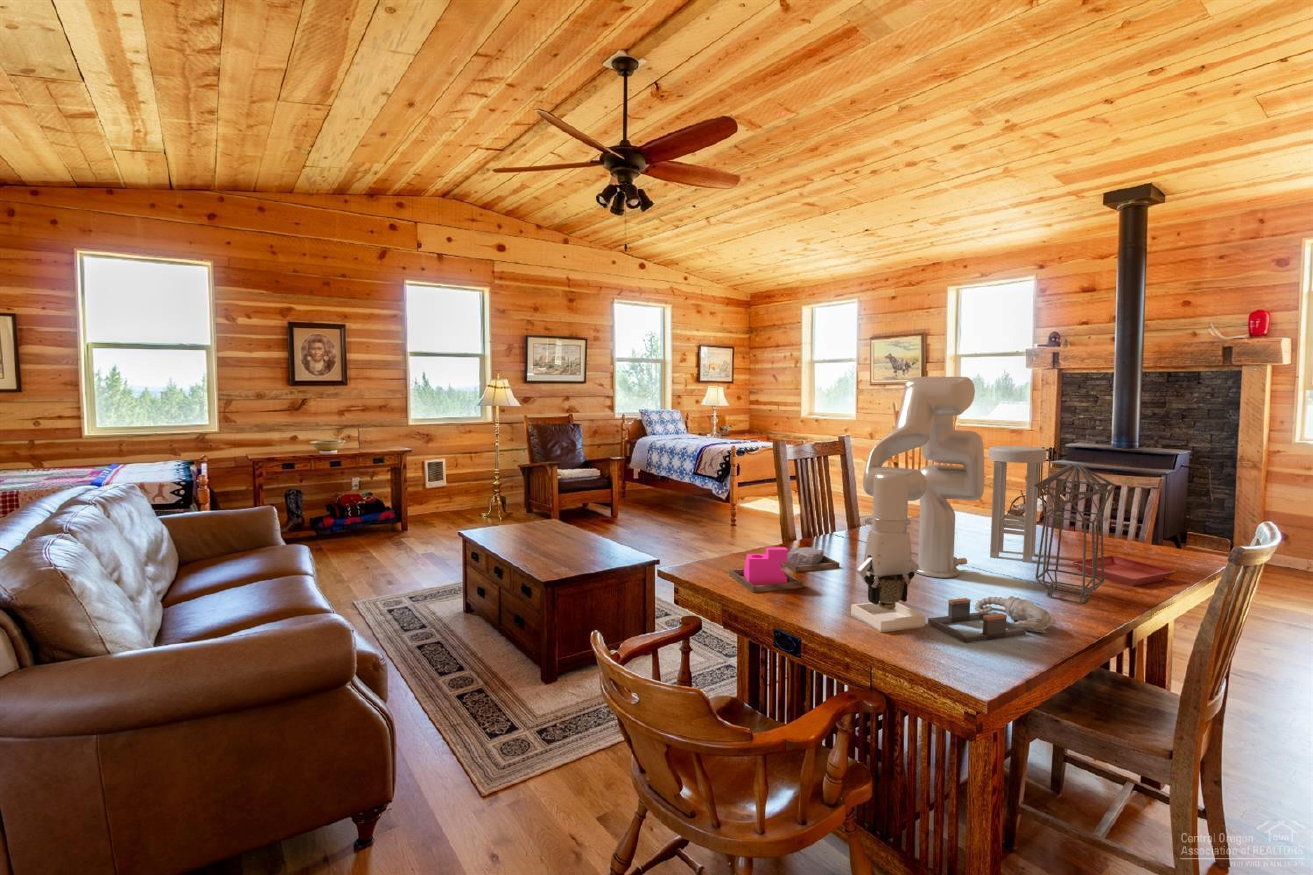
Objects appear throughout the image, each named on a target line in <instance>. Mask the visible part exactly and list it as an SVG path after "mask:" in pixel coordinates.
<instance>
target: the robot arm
mask: <svg viewBox="0 0 1313 875" xmlns="http://www.w3.org/2000/svg"><path fill="white" fill-rule="evenodd" d="M903 389H904V391H903V395H902V399H901V403H900V407H899V411H898V414H897V417H896V418H897V419H896V422H895V426H894V429H893V431H891V432H890V433H888V434H887V435H886V436H884V437H883V438H882V439H880V440H879V441H878V442H877V443H876V444H875V445H874V446H873V448H872V449H871V450H870V453H869V455H868V456H867V460H866V464H865V468H864V471H863V472H864V473H863V477H862V488H863V490H864V492H865V494H866V495H868V496H870V497H872V498H873V500H872V530H869V531H868V534H867V538H866V543H865V547H864V548H865V549H864V557H863V559H864V560H863V563H862V564H861V565H860V566H859V567H858V568H857V569H856V573H857V574H858V575H859V576H860V578H861V579H862V580H863V582H864V583H865V584H866V585H867V600H868V602H869V603H873V604H875V605H878V604H879V602H880V601H879V588H878V587H877V585H878V583H879V579H880V578H881V576H891V575H902V577H903V578H905V582H904V589H903V594H902V597H901V599H900V600H899V601H902V602H904V603H905V602H908V589H909V588H908V586H909V585H910V584H911V581H912V579H913V578H914V577H915V575H916V573H917V574H919V575H922V576H927V577H931V578H941V579H942V578H944V579H945V578H946V579H947V578H955V577H958V576H959V575H960V569H958V568H957V567H958V566H960V565H961V566H963V565H967V564H968V559H967V558H966V557H960V558H957V556H955V536H956V534H955V533H956V529H955V528H956V513H955V510H954V508H953V507H952V505H951V504H950V503H949V501H948V500H958V501H959V500H960V501H968V502H969V501H971V502H972V501H974V502H975V501H978V500H980V499H981V498H982V497H983V495H984V491H985V455H984V454H985V451H984V450H985V449H984V448H985V446H984V441H983V438H982V436H981V434H979V433H978V432H977V431H972V430H963V429H962V430H960V429H959V430H957V429H955V428H954V417H955V416H959V415H962V414H963V413H964V412H965V411H967V410H968V409H969V408H970V407H971V406H972V404H973V402H974V400H975V393H976V390H975V384H974V382H973V380H972V379H971V378H970V377H968V376H917V377H916V376H915V377H912V378H909V379H907V380H906V382H905V384H904V388H903ZM919 447H921V454H922V456H923V458H924V459H925V460H926V461H928V462H931V463H937V464H928V465H925V466H923V467H921V468H920V469H919V470H918V469H914V468H905V467H904V468H903V467H902V468H901V467H892V466H891V467H890V466H883V465H884V464H885V463H886V462H887V461H888V460H889V459H891V458H893V457H895V456H897V455H899V454H902V453H905V452H909V451H911V450H914V449H916V448H919ZM946 464H948V465H946ZM949 464H950V465H949ZM956 465H957V466H956ZM959 465H961V466H959ZM918 500H919V525H918V526H919V530H918V531H919V532H918V554H917V556H918V559H917V560H918V562H916V561H914V559H913V557H912V555H913V554H912V543H911V541H912V540H911V537H910V535H911V534H910V532H909V531H908V526H910V525H911V524H912V523H911V521H912V520H910V519H908V514H909V512H908V511H909V508H908V507H909V502H914V501H918ZM867 572H868V573H867ZM872 576H875V577H874V580H873V579H872Z"/></svg>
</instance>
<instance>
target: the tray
mask: <svg viewBox="0 0 1313 875" xmlns="http://www.w3.org/2000/svg"><path fill="white" fill-rule="evenodd" d="M895 605H896V607H895V609H893V610H884V609H882V608H880V606H879V604H878V605H875V604H873V603H871V602H863V603H853V604H851V605H850V612H851V613H850V615H851V616H852V617H854V618H856V619H857V620H859V621H860V622H862V623H864V624H865V625H867V626H869V627H871V628H872V629H874V630H876V631H877V632H879V633H887V632H895V631H896V632H897V631H902V630H903V631H906V630H911V629H912V630H913V629H919V628H920V629H921V628H925V627H926V616H925V615H924V614H921V613H920V612H917V611H916V610H914V609H911V608H910V607H908V606H906V605H903V604H901V603H900V602H899V601H898V602H897V603H895Z"/></svg>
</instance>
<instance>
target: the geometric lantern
mask: <svg viewBox="0 0 1313 875" xmlns="http://www.w3.org/2000/svg"><path fill="white" fill-rule="evenodd" d="M1066 473H1067V475H1066V477H1064V479H1063V478H1061V477H1062V476H1064V475H1065V474H1066ZM1072 473H1073V474H1072ZM1080 473H1081V474H1082V476H1083V478H1084V479H1085V481H1080ZM1071 475H1072V480H1068V479H1069V477H1070V476H1071ZM1099 479H1100V480H1101V481H1102V482H1101V481H1099ZM1054 481H1056V482H1057V483H1059V484H1060V485H1059V486H1058V487H1052V486H1051V483H1053V482H1054ZM1066 483H1067V484H1071V487H1070V486H1069V485H1067V484H1066ZM1080 484H1082V485H1089V487H1088V490H1087V491H1078V490H1079V486H1080ZM1075 485H1076V488H1075ZM1034 486H1035V487H1037V488H1038V492H1040V495H1041V502H1042V503H1041V505H1042V516H1044V517H1043V523H1042V531H1041V537H1040V543H1039V544H1040V545H1039V551H1038V557H1037V558H1038V559H1037V565H1036V571H1035V578H1034V579H1035V580H1036V581H1037V582H1038V583H1039V585H1041V586H1042V587H1044V588H1045V589H1046V591H1047V594H1046V595H1045V596H1046V597H1047V598H1051V599H1056V600H1061V601H1067V602H1072V603H1077V604H1085V603H1086V602H1087V601H1088V599H1089V596H1090V593H1092V592H1095V591H1096V590H1097V589H1098V588H1099V587H1100V586H1102V585H1103V583H1105V579H1104V556H1105V554H1104V549H1105V548H1104V517H1103V516H1104V511H1105V508H1106V505H1107V503H1108V501H1109V499H1110V497H1111V495H1112V493H1113V492H1114V490H1115V488H1116V484H1115V483H1113V482H1111V481H1110V480H1108V479H1106V478H1104V477H1103V476H1100V475H1099V474H1097V473H1095V472H1093V471H1091V470H1090V469H1088V468H1086V467H1084V466H1083V465H1081V464H1079V463H1070V464H1068V465H1067V466H1065V467H1063V468H1062V469H1060V470H1058V471H1056V472H1055V473H1053V474H1051V475H1050V476H1048V477H1046V478H1045V479H1043V480H1040V481H1038V483H1037V484H1035V485H1034ZM1063 486H1064V487H1065V488H1067V489H1068V490H1070V491H1065V490H1061V489H1062V488H1063ZM1108 487H1110V488H1108ZM1074 488H1075V489H1074ZM1091 488H1092V489H1093V490H1094V491H1091ZM1051 490H1052V491H1056V494H1055V495H1056V496H1055V495H1054V494H1053V493H1052V492H1050V491H1051ZM1059 493H1061V494H1066V495H1067V494H1068V496H1069V497H1068V498H1067V500H1061V499H1060V498H1059ZM1100 494H1101V495H1102V502H1101V506H1100V507H1099V508H1098V506H1097V504H1096V502H1095V500H1094V499H1093V497H1094V496H1096V495H1100ZM1075 495H1080V496H1081V497H1079V498H1076V499H1073V500H1072V498H1073V497H1074V496H1075ZM1044 496H1050V498H1051V500H1052V502H1053V504H1054V506H1055V507H1054V508H1051V509H1049V510H1048V511H1046V507H1045V497H1044ZM1088 498H1090V499H1091V502H1092V503H1093V505H1094V507H1095V509H1096V510H1097V512H1089V511H1080V510H1079V509H1078V508H1079V507H1077V505H1076V504H1075V503H1077V502H1079V501H1083V500H1084V499H1088ZM1055 500H1056V501H1057V503H1058V504H1057V503H1056V501H1055ZM1061 504H1063V505H1062V506H1061V507H1060V508H1059V506H1060V505H1061ZM1068 504H1072V506H1073V507H1074V510H1073V509H1066V508H1065V507H1066V506H1067V505H1068ZM1064 511H1065V512H1073V513H1077V514H1078V516H1080V520H1079V519H1075V518H1074V519H1073V518H1066V517H1064ZM1057 512H1060V517H1059V516H1056V515H1057ZM1048 513H1050V514H1048ZM1083 514H1089V515H1095V517H1094V518H1093V520H1086V519H1085V518H1084V516H1083ZM1050 518H1051V519H1052V520H1051V521H1052V522H1051V528H1050V529H1051V530H1050V538H1049V537H1048V536H1049V523H1050V522H1049V521H1050ZM1056 519H1059V520H1060V522H1059V531H1058V539H1057V540H1058V542H1057V551H1056V562H1055V569H1051V568H1049V567H1050V560H1051V553H1052V545H1053V538H1054V530H1055V524H1056V523H1055V522H1056ZM1081 519H1082V520H1081ZM1063 520H1065V521H1066V520H1067V521H1074V522H1079V523H1083V542H1082V543H1083V545H1082V546H1083V547H1082V553H1083V554H1082V560H1083V573H1078V572H1073V571H1068V570H1067V571H1066V570H1060V569H1059V562H1060V554H1061V553H1060V552H1061V551H1060V550H1061V542H1062V540H1061V539H1062V531H1063V530H1062V529H1063ZM1095 523H1096V524H1095ZM1087 524H1091V542H1092V543H1091V550H1092V551H1091V552H1092V553H1091V558H1092V575H1090V574H1086V573H1085V560H1086V557H1087V556H1086V553H1087ZM1095 525H1096V526H1095ZM1095 528H1096V530H1095ZM1095 531H1096V532H1095ZM1095 534H1096V535H1095ZM1048 538H1049V544H1048ZM1099 539H1100V557H1101V569H1102V578H1101V577H1097V560H1098V557H1099V556H1098V555H1099ZM1043 544H1044V546H1043ZM1047 549H1048V552H1047ZM1043 550H1044V551H1043ZM1042 552H1043V561H1042V562H1043V563H1042V572H1041V573H1040V574H1039V572H1040V566H1041V565H1040V564H1041V557H1042ZM1049 572H1054V579H1053V578H1052V575H1051V574H1050V573H1049ZM1057 572H1058V573H1062V574H1068V575H1074V576H1079V577H1082V582H1081V583H1082V585H1079V584H1072V583H1067V582H1060V581H1058V579H1057ZM1046 574H1047V576H1048V577H1049V579H1050V580H1051V581H1047V580H1045V579H1046ZM1040 578H1041V579H1040ZM1086 578H1089V579H1090V580H1089V582H1088V583H1087V584H1086ZM1096 580H1098V582H1097V583H1096ZM1090 584H1092V586H1090ZM1048 585H1049V586H1048ZM1058 587H1061V588H1066V589H1070V590H1071V591H1070V590H1065V589H1060V588H1058ZM1079 587H1080V588H1079ZM1072 590H1075V591H1072ZM1077 591H1079V592H1077ZM1053 592H1055V593H1060V594H1065V595H1070V596H1076V597H1079V601H1077V600H1073V599H1067V598H1061V597H1057V596H1053ZM1082 597H1083V600H1082Z"/></svg>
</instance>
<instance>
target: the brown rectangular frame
mask: <svg viewBox="0 0 1313 875" xmlns="http://www.w3.org/2000/svg"><path fill="white" fill-rule="evenodd" d="M790 551H791V550H790ZM790 551H789V550H788V553H789V552H790ZM821 562H824V563H818V564H813V565H801V566H796V565H794V564H792V563H791V562H789V561H787V562H781V565H783V566H784V567H787V568H788V569H790V570H792V571H794V572H808V571H821V570H830V569H840V562H839V561H836V560H834V559H832V558H830V557H828V556H826V555H824V556H823V560H822V561H821Z"/></svg>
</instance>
